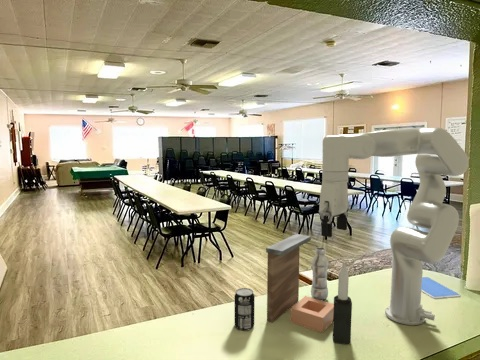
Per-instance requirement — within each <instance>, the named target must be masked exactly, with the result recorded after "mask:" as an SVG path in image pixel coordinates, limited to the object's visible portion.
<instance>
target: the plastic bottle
mask: <svg viewBox="0 0 480 360" xmlns="http://www.w3.org/2000/svg"><path fill="white" fill-rule="evenodd" d="M314 252H315V253H314V254H315V255H314V256H313V257H312V259H311V269H312V281H311V282H312V283H311V284H312V285H311V288H310V293H311V294H310V295H311V298H314V299H318V300H322V301H325V300H327V298H328V297H329V289H328V269H329V264H330V263H329V260H328V258H327V256H326V248H324V247H320V246H319V247H316V248H315V251H314Z"/></svg>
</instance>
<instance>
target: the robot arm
mask: <svg viewBox="0 0 480 360" xmlns="http://www.w3.org/2000/svg"><path fill="white" fill-rule="evenodd" d="M408 155H416V157H415V161H414V163H415V167H416V170H417V173H418V177H419V187H418V189H417V191H416V194H415V196H414V197H413V200H412V202H411V205H410V206H409V208H408V210H407V211H408V212H407V214H406V218H407V221H408V222H409V223H410V224H411V225H412V226H415V227H418V228H421V229H425V230H429V231H428V232H427V231H423V230H419V229H416V228H412V227H408V226H400V227H397V228H395V229H394V230H393V231H392V232H391V235H390V240H389V241H390V242H389V243H390V249H391V250H390V251H391V255H392V257H391V259H392V264H391V265H392V266H391V283H390V284H391V285H390V301H389V302H390V303H389V306H386V308H385V310H384V315H385V316H386V317H387V318H388V319H390V320H391V321H393V322H396V323H398V324H402V325H407V326H418V325H419V326H420V325H422V324H424V322H425V319H427V320H429V321H435V316H436V315H435V314H432V313H433V312H432V311H430V310H425V308H423V304H421V300H422V291H421V288H422V277H423V265H422V263H427V264H430V265H435V264H438V263H440V262H441V261H442V260H443V258H444V257H445V256H446V253H447V251H448V249H449V247H450V245H451V243H452V240H453V238H454V236H455V234H456V232H457V229H458V226H459V223H460V215H459V212H458V210H457V209H456V208H455V207H454V206H452V205H451V204H448V203H443V202H444V200H445V197H446V195H447V188H446V187H447V186H446V183H445V181H444V180H443V177H442V176H446V177H447V176H449V177H458V176H462V175H464V174H465V173H466V172H467V170H468V168H469V166H470V165H469V164H470V163H469V157H468V155H467V152H465V150H464V149H463V148H462V147H461V145H460V144H459V143H458V142H457V140H456V139H455V138H454V137H453V136H452V134H450V133H449V132H448V130H446V129H444V128H442V127H416V128H402V129H401V128H400V129H389V130H387V129H386V130H378V131H371V132H362V133H348V134H339V135H338V134H337V135H326V136H324V137H323V138H322V169H321V170H322V171H321V172H322V174H321V175H322V176H321V177H322V178H321V180H322V181H321V188H320V194H319V207H318V208H319V210H318V213H319V219H320V223H321V224H320V225H321V231H320V232H321V236H323V237H328V238H332V237H333V223H332V221H333V218H334V217H336V229H337V230H342V231H346V230H348V215H349V214H348V211H349V207H350V206H349V205H350V201H349V191H348V183H349V161H350V160H351V159H353V160H366V159H369V158H370V157H381V158H383V157H384V158H388V157H399V156H408Z"/></svg>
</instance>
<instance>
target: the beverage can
mask: <svg viewBox="0 0 480 360" xmlns="http://www.w3.org/2000/svg"><path fill="white" fill-rule="evenodd" d="M255 296H256V295H255V294H254V291H253V289H252V288H249V287H248V288H246V287H241V288H238V289H236V291H235V294H234V326H235V327H236V328H237V329H238V330H239V331H250V330H251V329H252V328H253V327H254V326H255Z"/></svg>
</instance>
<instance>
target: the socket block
mask: <svg viewBox="0 0 480 360" xmlns="http://www.w3.org/2000/svg"><path fill="white" fill-rule="evenodd" d="M333 312H334V303H332V302H329V301H325V300H318V299H314V298H313V297H312V296H307V295H305V296H303V297H302V298H301V299H300V300H298V302H297V303H296V304H295V305H294V306H292V307H291V308H290V323H292V324H295V325H298V326H301V327H305V328H307V329H309V330H313V331H316V332H319V333H321V334H323V333H324V332H325V331H326V330H327V329H328V328H329V326H330V325H331V324H333Z"/></svg>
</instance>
